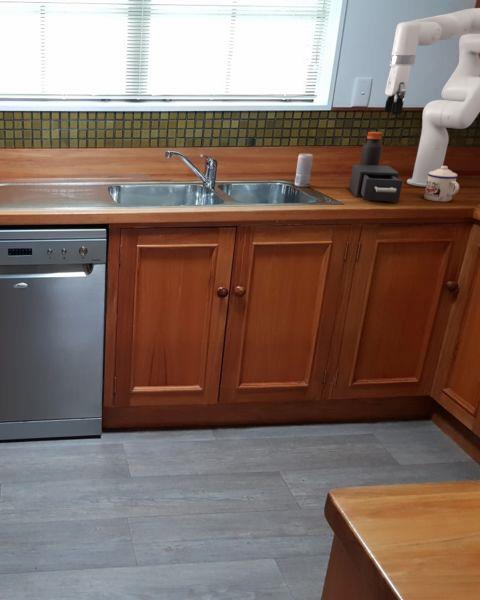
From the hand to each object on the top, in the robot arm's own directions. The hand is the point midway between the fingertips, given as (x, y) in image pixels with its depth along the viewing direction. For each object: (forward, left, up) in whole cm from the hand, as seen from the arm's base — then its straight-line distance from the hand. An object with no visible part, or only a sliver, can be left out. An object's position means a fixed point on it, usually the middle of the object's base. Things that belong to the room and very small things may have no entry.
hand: (392, 113), depth 215 cm
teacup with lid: (-12, +17, -28) cm, 35 cm away
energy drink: (+20, -18, -28) cm, 39 cm away
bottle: (-5, -12, -28) cm, 31 cm away
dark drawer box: (+4, +1, -28) cm, 29 cm away
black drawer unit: (+10, +11, -27) cm, 31 cm away
